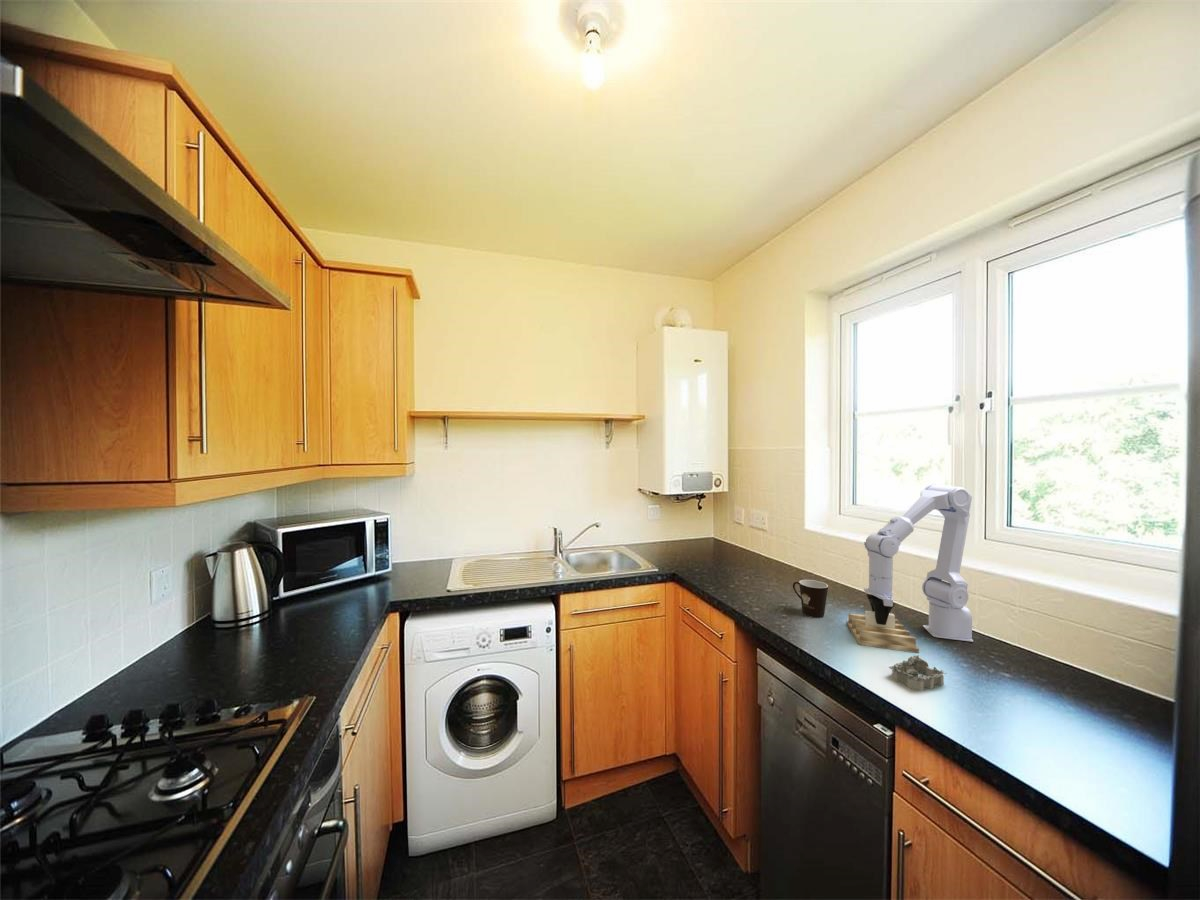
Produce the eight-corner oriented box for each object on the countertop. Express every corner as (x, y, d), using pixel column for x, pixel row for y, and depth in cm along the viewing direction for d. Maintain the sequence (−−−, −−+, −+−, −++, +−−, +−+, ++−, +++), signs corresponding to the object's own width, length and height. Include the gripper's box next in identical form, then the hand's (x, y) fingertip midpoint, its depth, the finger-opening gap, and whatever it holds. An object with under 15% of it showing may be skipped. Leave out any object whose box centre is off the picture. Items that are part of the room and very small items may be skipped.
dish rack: (898, 630, 127) (898, 618, 127) (918, 652, 113) (919, 639, 113) (846, 623, 132) (846, 612, 132) (859, 644, 117) (859, 632, 117)
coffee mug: (833, 619, 135) (833, 588, 135) (806, 619, 135) (806, 587, 135) (815, 606, 146) (815, 577, 146) (790, 605, 146) (790, 576, 146)
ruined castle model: (918, 670, 104) (918, 653, 104) (950, 686, 97) (951, 669, 97) (885, 676, 101) (885, 659, 101) (916, 693, 94) (916, 675, 94)
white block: (892, 634, 122) (893, 613, 122) (894, 636, 120) (895, 615, 120) (865, 630, 124) (865, 610, 124) (866, 633, 123) (867, 612, 123)
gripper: (858, 567, 130) (857, 611, 130) (872, 581, 117) (871, 630, 117) (884, 570, 128) (883, 614, 128) (902, 584, 114) (901, 634, 114)
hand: (879, 622), depth 122 cm, fingers closed on white block, 2 cm apart
